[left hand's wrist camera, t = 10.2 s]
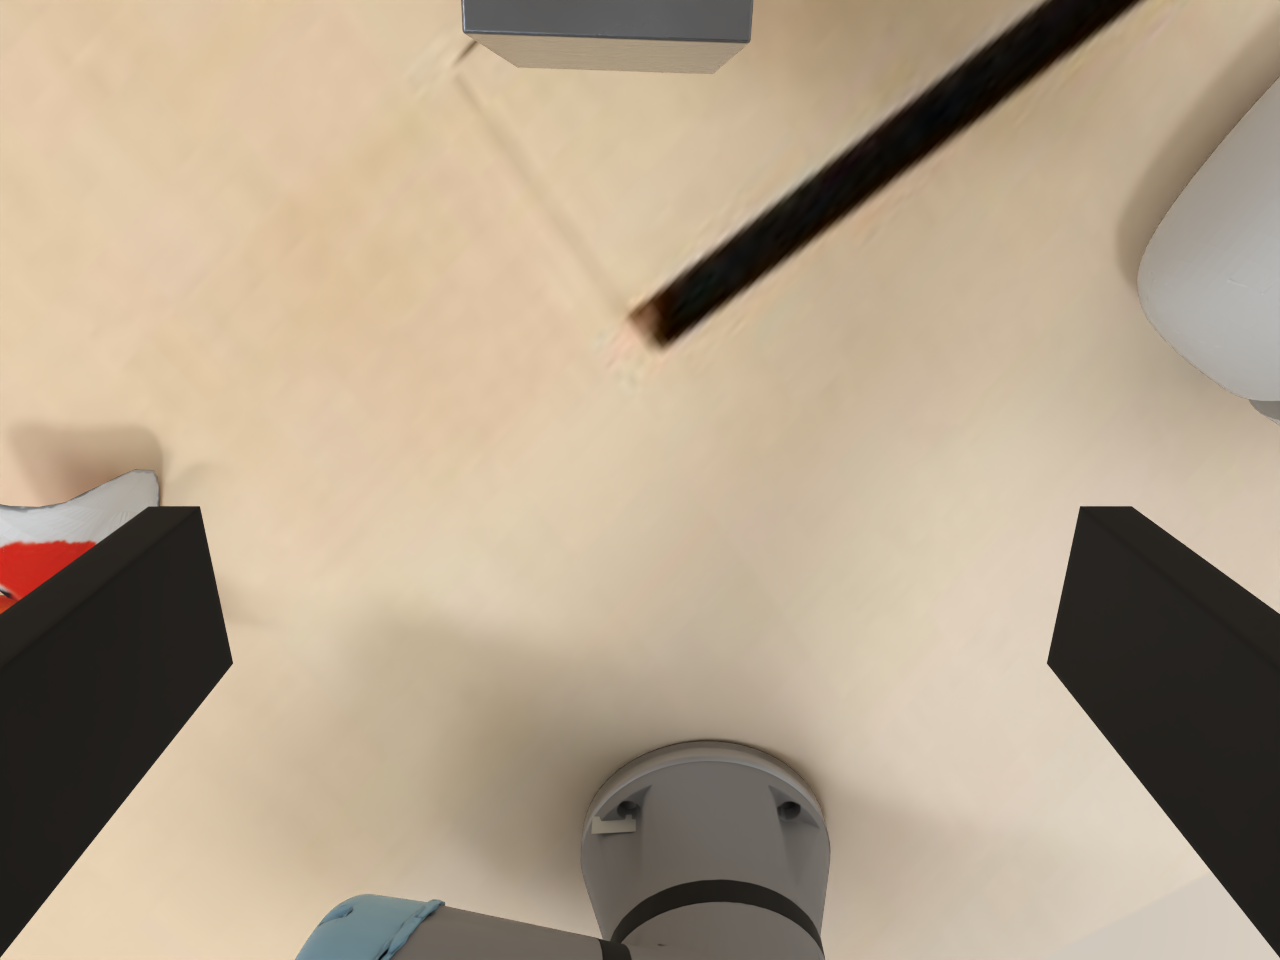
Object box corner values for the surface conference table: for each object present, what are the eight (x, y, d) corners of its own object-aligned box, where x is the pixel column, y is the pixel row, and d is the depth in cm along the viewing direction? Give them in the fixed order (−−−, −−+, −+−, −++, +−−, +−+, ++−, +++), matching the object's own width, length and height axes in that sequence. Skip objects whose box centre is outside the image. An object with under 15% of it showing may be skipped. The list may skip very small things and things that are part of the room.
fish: (-200, 570, 40) (-260, 690, 33) (92, 382, 44) (98, 451, 36) (-11, 689, 47) (-24, 811, 40) (230, 518, 50) (260, 600, 43)
